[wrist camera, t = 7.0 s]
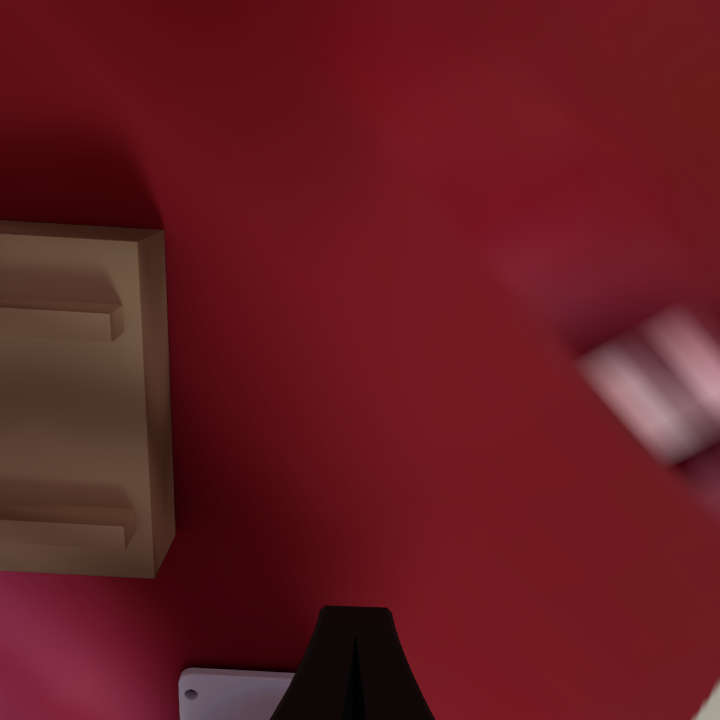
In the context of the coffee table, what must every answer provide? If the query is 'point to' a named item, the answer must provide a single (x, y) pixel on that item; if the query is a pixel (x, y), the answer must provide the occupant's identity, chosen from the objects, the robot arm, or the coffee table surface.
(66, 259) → the board
